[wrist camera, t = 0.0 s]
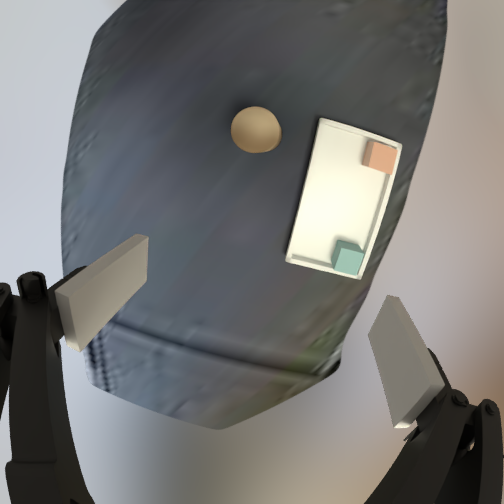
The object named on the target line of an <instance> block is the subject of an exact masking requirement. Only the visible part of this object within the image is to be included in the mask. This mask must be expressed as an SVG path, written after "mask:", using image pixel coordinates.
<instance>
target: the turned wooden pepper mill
mask: <svg viewBox="0 0 504 504" xmlns="http://www.w3.org/2000/svg"><path fill="white" fill-rule="evenodd" d="M231 135H232V138H233V140H234V142H235V143H236V145H237V146H238V147H239V148H241V149H242V150H244V151H247V152H250V153H260V152H266V151H271V150H273V149H275V148H276V147H277V146H278V145H279V144H280V142H281V139H282V130H281V127H280V125H279V123H278V121H277V119H276V118H275V116H274V115H273V114H272V113H271V112H270V111H268V110H267V109H264V108H261V107H249V108H246V109H244V110H242V111H240V112H239V113H238V114H237V115H236V116H235V118H234V119H233V122H232V125H231Z"/></svg>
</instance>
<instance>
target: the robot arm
mask: <svg viewBox="0 0 504 504" xmlns="http://www.w3.org/2000/svg"><path fill="white" fill-rule="evenodd" d="M148 238H149V237H148V236H144V235H140V234H135V235H134V236H132V237H131V238H129V239H127V240H126V241H124V242H123V243H121V244H120V245H118V246H117V247H115V248H114V249H112V250H111V251H109V252H108V253H106V254H105V255H103V256H102V257H101V258H99V259H98V260H96V261H95V262H93V263H92V264H90V265H89V266H83V267H80V268H77V269H75V270H74V271H72V272H71V273H69V275H67V276H65V277H64V278H63V279H61V280H60V281H58V282H57V283H55V284H54V285H53V286H51V287H50V288H49V289H47V286H46V280H45V276H44V274H43V273H40V272H35V271H32V272H27V273H25V274H22V275H21V276H20V277H18V279H17V286H18V290H19V294H20V296H17V295H12V292H11V288H10V285H9V284H7V283H0V419H1V414H2V410H3V406H4V402H5V398H6V394H7V390H8V387H9V425H10V439H11V450H12V460H11V461H10V462H7V464H6V467H5V472H6V480H7V486H8V491H9V496H10V500H11V504H95V503H94V501H93V499H92V497H91V496H90V494H89V492H88V490H87V487H86V485H85V482H84V478H83V475H82V472H81V469H80V465H79V461H78V458H77V454H76V450H75V446H74V442H73V438H72V432H71V427H70V422H69V417H68V411H67V405H66V398H65V390H64V382H63V372H62V360H61V345H60V342H59V340H60V339H61V338H62V337H63V336H65V340H66V344H67V346H69V347H71V348H73V349H74V350H77V351H79V352H81V351H82V350H83V349H84V348H85V346H86V345H87V344H88V343H89V342H90V341H91V340H92V339H93V338H94V336H95V335H96V334H97V333H98V332H99V331H100V330H101V329H102V328H103V326H104V325H105V324H106V323H107V322H108V321H109V320H110V319H111V318H112V317H113V316H114V315H115V314H116V312H117V311H118V310H119V309H120V308H121V307H122V306H123V305H124V304H125V303H126V302H127V301H128V300H129V299H130V298H131V297H132V296H133V295H134V293H135V292H136V291H137V290H138V289H139V288H140V287H141V286H142V285H143V284H144V283H145V282H146V281H147V256H148ZM368 337H369V340H370V343H371V346H372V350H373V353H374V356H375V359H376V362H377V366H378V370H379V373H380V376H381V380H382V384H383V387H384V391H385V395H386V399H387V402H388V406H389V410H390V414H391V418H392V423H393V427H394V428H408V427H409V426H410V424H412V423H413V421H414V420H416V421H417V425H418V426H417V427H416V428H415V429H414V430H413V431H412V432H411V433H410V434H409V435H408V436H407V437H406V438H405V439H404V441H405V440H407V439H408V438H409V439H408V440H407V442H406V444H405V445H404V447H403V449H402V450H401V452H400V454H399V455H398V457H397V459H396V460H395V462H394V463H393V465H392V466H391V468H390V469H389V471H388V472H387V474H386V475H385V477H384V478H383V479H382V481H381V482H380V483H379V485H378V486H377V487H376V489H375V490H374V492H373V493H372V494H371V495H370V497H369V498H368V499H367V501H366V502H365V503H364V504H501V499H502V486H503V443H502V428H501V418H500V412H499V408H498V407H497V404H496V403H495V402H494V401H491V400H490V399H484V400H483V401H482V402H481V403H480V404H479V405H478V406H474V405H471V404H469V401H468V399H467V397H466V396H465V395H464V394H463V393H462V392H461V391H459V390H456V389H452V388H451V385H450V383H449V381H448V379H447V377H446V375H445V373H444V371H443V370H442V367H441V365H440V364H439V361H438V359H437V357H436V355H435V354H434V353H433V352H432V351H431V350H430V349H429V348H427V347H426V345H425V344H424V341H423V339H422V338H421V336H420V334H419V332H418V330H417V328H416V327H415V325H414V323H413V321H412V320H411V318H410V316H409V314H408V312H407V311H406V309H405V307H404V306H403V304H402V302H401V301H400V299H399V297H394V296H390V295H387V297H386V299H385V301H384V303H383V305H382V307H381V309H380V311H379V314H378V316H377V318H376V320H375V322H374V324H373V326H372V328H371V330H370V332H369V334H368ZM473 443H474V446H473V448H472V450H470V445H471V444H473Z"/></svg>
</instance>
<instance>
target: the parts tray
mask: <svg viewBox="0 0 504 504" xmlns="http://www.w3.org/2000/svg"><path fill="white" fill-rule="evenodd" d="M367 142H377V143H380V144H382V145H385V146H388V147H391V148H393V149H396V150H398V152H397V156H396V160H395V164H394V168H393V172H392V175H390V174H387V173H384V172H381V171H378V170H375V169H372V168H369V167H366V166H363V165H362V162H363V158H364V154H365V150H366V145H367ZM401 149H402V144H400V143H397V142H394V141H392V140H389V139H387V138H384V137H381V136H378V135H376V134H373V133H370V132H367V131H364V130H361V129H358V128H355V127H352V126H348V125H345V124H342V123H338V122H335V121H332V120H328V119H324V118H320V119H319V122H318V126H317V131H316V135H315V140H314V144H313V148H312V153H311V157H310V161H309V165H308V169H307V174H306V178H305V182H304V186H303V190H302V194H301V198H300V202H299V206H298V210H297V214H296V217H295V221H294V225H293V229H292V233H291V237H290V240H289V244H288V248H287V252H286V256H285V262H289V263H293V264H298V265H302V266H306V267H310V268H314V269H318V270H322V271H327V272H331V273H335V274H339V275H343V276H347V277H351V278H356V279H360V280H361V277H362V275H363V272H364V270H365V267H366V264H367V262H368V259H369V256H370V253H371V251H372V248H373V245H374V242H375V239H376V236H377V233H378V230H379V227H380V224H381V221H382V218H383V215H384V212H385V208H386V205H387V202H388V198H389V195H390V191H391V188H392V184H393V181H394V177H395V173H396V169H397V165H398V161H399V157H400V153H401ZM337 240H341V241H345V242H349V243H353V244H356V245H359V246H360V248H361V249H362V251H363V252H364V256H363V259H362V262H361V265H360V267H359V270H358V273H357V275H356V276H354V275H350V274H346V273H342V272H338V271H334V269H333V266H332V263H331V259H332V256H333V253H334V250H335V246H336V243H337Z"/></svg>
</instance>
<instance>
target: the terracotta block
mask: <svg viewBox="0 0 504 504" xmlns="http://www.w3.org/2000/svg"><path fill="white" fill-rule="evenodd" d="M397 152H398V150H396V149H393V148H391V147H388V146H385V145H382V144H380V143H377V142H367V145H366V150H365V154H364V158H363V162H362V165H363V166H366V167H369V168H372V169H375V170H378V171H381V172H384V173H387V174H390V175H392V172H393V168H394V164H395V160H396V156H397Z"/></svg>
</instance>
